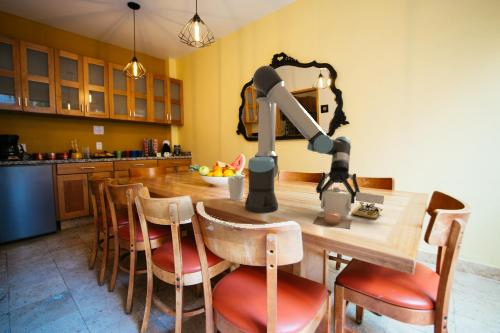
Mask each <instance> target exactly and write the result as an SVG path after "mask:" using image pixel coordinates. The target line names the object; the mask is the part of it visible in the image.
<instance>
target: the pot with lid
mask: <svg viewBox="0 0 500 333" xmlns="http://www.w3.org/2000/svg"><path fill="white" fill-rule="evenodd" d="M349 194H350V193H349V191H348V190H345V189H341V187H337V186H334V187H333V188H331V189H330V188H328V189H327V190H324V207H323V214H325V212H337V213H339V214H340V218H341V217H343V218H344V217H347V216H349V214H350V212H348V205H349Z"/></svg>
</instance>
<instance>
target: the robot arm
mask: <svg viewBox="0 0 500 333" xmlns="http://www.w3.org/2000/svg"><path fill="white" fill-rule="evenodd" d="M252 82H253V85H254V87H255V90H256V93H255V94H256V96H255V97H256V99H255V101H256V102H257V103H258V135H257V152H256V153H255V154H254V157H251V158H249V160H248V164H247V169H248V193H247V197H246V199H245V202H244V210H245V211H248V212H252V213H263V214H265V213H273V212H275V211H277V210H279V203H278V199H277V196H276V193H275V178H276V177H277V175H278V173H279V167H278V166H279V165H278V159H279V158H278V157H279V156H278V154H277V153H276V127H277V125H276V124H277V122H276V121H277V120H276V119H277V108H279V110H281V112H282V113H283V114H284V115H285V116H286V117H287V119H288V120H289V121H290V122H291V124H292V125H293V126H294V127H296V129H297V130H298V131H299V133H300V134H301V135H302V136H303V137H304V138H305V140H307V142H308V143H307V146H306V148H307V150H308V151H311V152H313V153H315V152H316V153H318V154H324V155H328V156H331V162H330V163H331V165H330V168H329V169H330V170H329V172H327V173H325V172H324V171H323V172H322V175H321V178H320V180H319V181H318V183H317V186H316V188H315V192H316V194H319V197H318V198H319V201H320V209H322V210H324V190H328V189H330V187H331V186H332V185H334V183H335V184H343V185H344V186H345V188H346V191H349V205H348V212H349V213H351V212H352V211H351V209H352V204H353V205H354V204H355V200H356V192H360V188H359V184H358V181H357V174H356V173H353V174H352V173H351V174H350V155H351V148H352V145H351V144H352V143H351V140H350V139H349V138H348V137H346V136H338V137H336V138H335V139H332V138H331V136H330V135H327V133H326V132H325V131H324V130H323V129H322V128H321V127H320V125H319V124H318V123H317V121H315V120H314V118H313V117H312V116H311V114H310V113H309V112H308V111H307V110H306V109H305V108H304V107H303V106H302V105H301V103H300V101H298V100H297V99H296V97H294V95H293V94H292V93H291V92H290V91H289V90H288V89H287V87H286V86H285V82H284V80H283V79H282V77H281V76H280V75H279V73H278V71H276V69H275V68H274V67H273V66H271V65H262V66H260V67H258V68H256V70H255V72H253V77H252ZM327 178H329V179H328V180H327ZM349 178H350V180H351V181H352V184H353V188H352V186H351V184H350V182H349V181H348V179H349ZM326 180H327V181H326ZM325 182H326V183H325Z"/></svg>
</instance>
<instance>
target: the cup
mask: <svg viewBox="0 0 500 333" xmlns="http://www.w3.org/2000/svg"><path fill="white" fill-rule="evenodd" d="M227 184H228V191H229V192H228V193H229V197H230V200H231V201H240V200H243V199H244V198H243V197H244V190H245V184H246V182H245V176H242V175H231V176H228V178H227Z"/></svg>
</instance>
